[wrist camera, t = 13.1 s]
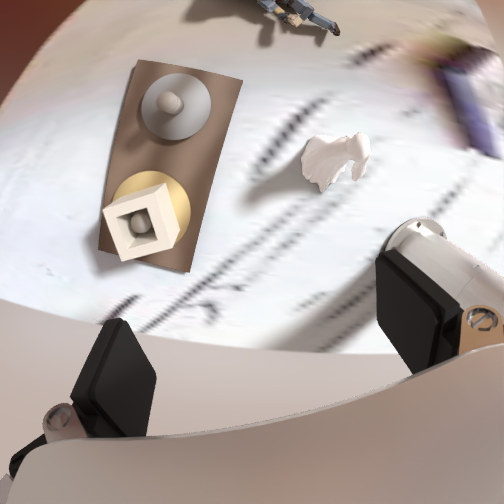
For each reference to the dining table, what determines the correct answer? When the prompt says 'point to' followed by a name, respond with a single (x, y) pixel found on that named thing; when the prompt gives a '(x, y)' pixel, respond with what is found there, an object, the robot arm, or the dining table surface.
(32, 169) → the dining table surface
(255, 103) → the dining table surface
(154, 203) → the collar
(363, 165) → the figurine
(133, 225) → the workboard
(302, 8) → the toy
